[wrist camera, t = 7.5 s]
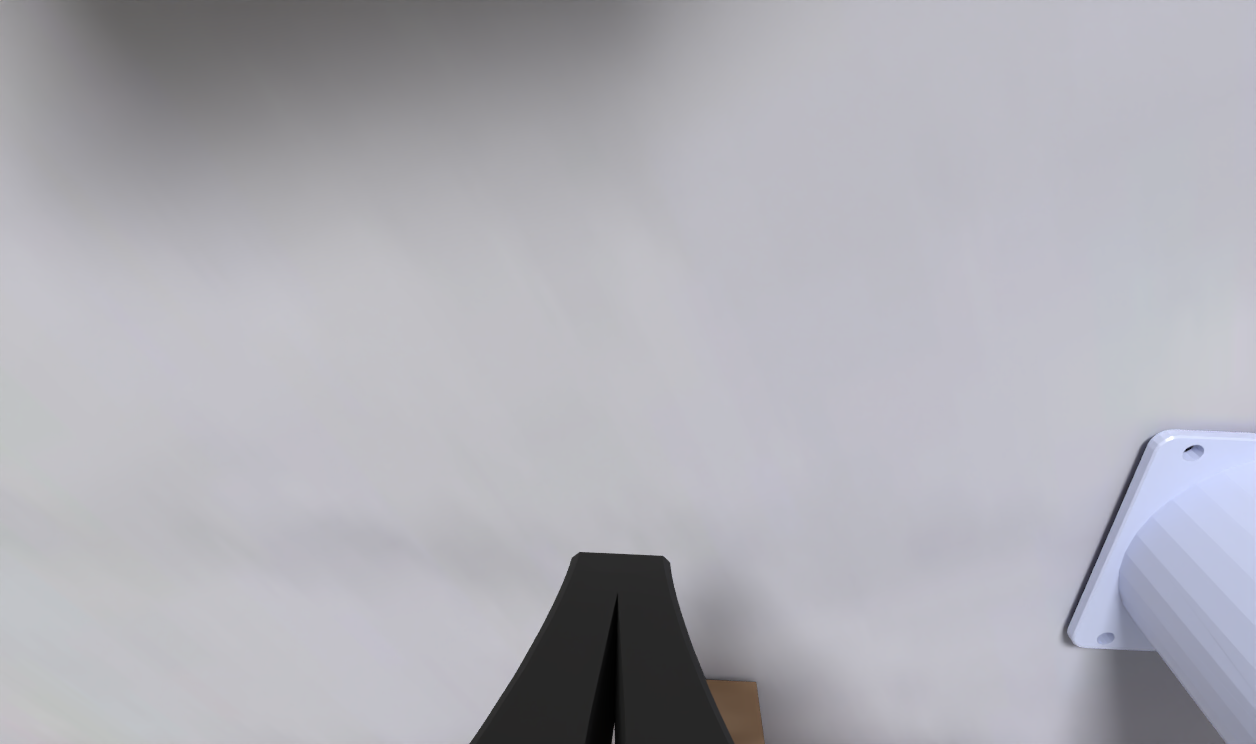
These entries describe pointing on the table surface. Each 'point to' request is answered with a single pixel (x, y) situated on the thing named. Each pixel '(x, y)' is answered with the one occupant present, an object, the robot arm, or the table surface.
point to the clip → (739, 709)
